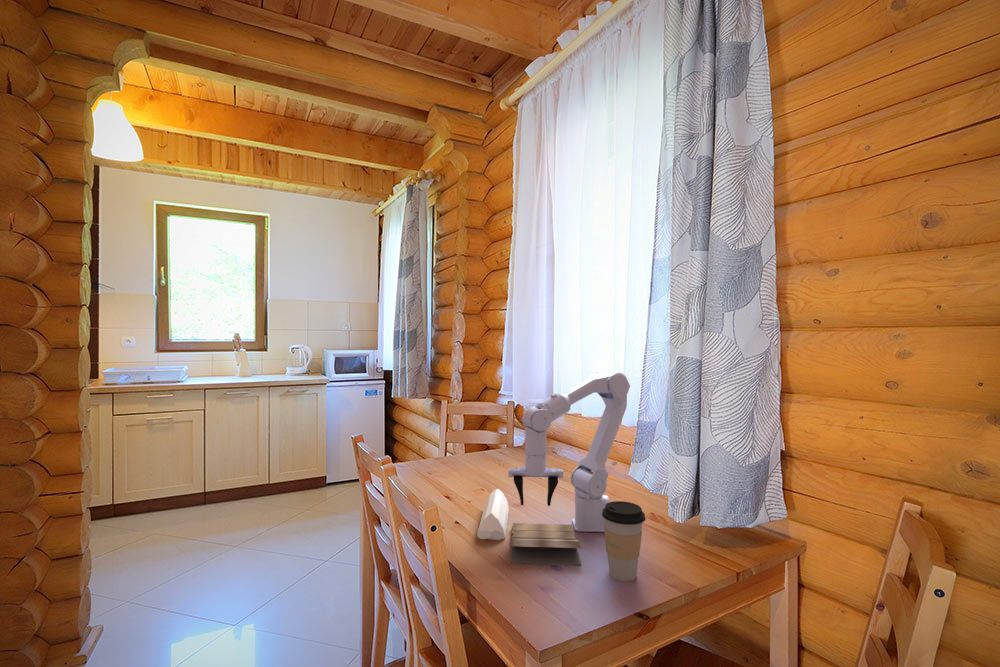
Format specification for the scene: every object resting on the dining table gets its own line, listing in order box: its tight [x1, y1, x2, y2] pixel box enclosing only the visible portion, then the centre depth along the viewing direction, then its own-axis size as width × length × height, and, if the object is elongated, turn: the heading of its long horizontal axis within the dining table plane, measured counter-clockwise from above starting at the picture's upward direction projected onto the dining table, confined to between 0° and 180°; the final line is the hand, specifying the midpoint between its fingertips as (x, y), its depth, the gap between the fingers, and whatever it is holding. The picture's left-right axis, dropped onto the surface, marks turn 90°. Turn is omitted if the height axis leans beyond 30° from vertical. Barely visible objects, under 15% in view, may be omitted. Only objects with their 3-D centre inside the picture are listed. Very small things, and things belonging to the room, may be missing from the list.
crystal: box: [476, 488, 510, 541], centre depth 131 cm, size 7×7×24 cm
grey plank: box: [511, 537, 581, 549], centre depth 113 cm, size 16×9×2 cm, turn 88°
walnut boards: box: [511, 522, 576, 540], centre depth 122 cm, size 16×9×2 cm, turn 88°
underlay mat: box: [510, 525, 582, 566], centre depth 118 cm, size 16×21×1 cm
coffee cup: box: [602, 500, 646, 582], centre depth 104 cm, size 9×9×15 cm
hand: (535, 504), depth 123 cm, fingers open, 6 cm apart
